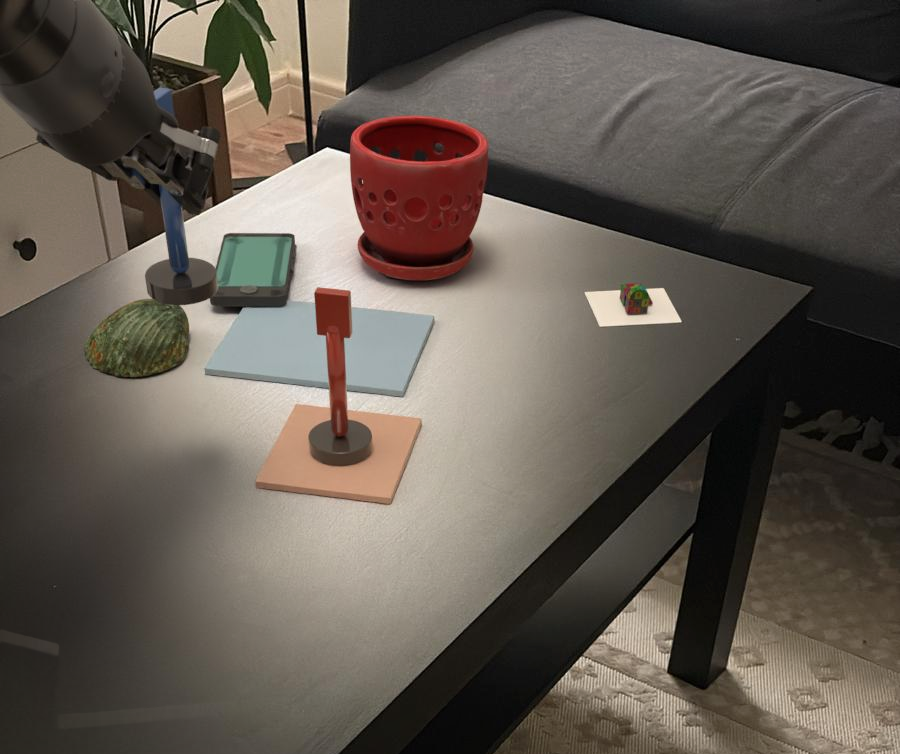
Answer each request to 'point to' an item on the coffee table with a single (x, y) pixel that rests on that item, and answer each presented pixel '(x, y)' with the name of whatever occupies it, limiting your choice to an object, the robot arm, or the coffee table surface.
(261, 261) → the smartphone
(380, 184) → the flower pot
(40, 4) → the robot arm
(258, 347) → the blue mat
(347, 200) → the coffee table surface
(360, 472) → the orange mat
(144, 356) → the seashell
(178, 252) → the blue rod on disc
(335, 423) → the red rod on disc
